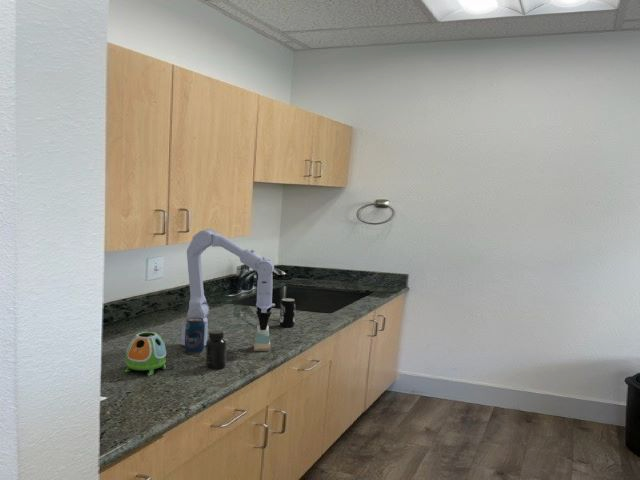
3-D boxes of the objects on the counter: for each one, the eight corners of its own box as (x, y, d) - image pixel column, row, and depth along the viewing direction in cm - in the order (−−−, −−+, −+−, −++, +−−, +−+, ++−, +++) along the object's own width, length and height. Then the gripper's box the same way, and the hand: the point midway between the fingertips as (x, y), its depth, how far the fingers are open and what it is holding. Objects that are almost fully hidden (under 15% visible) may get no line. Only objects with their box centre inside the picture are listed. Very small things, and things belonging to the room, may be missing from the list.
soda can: (184, 354, 213) (185, 321, 212) (184, 349, 220) (185, 317, 219) (204, 354, 215) (205, 321, 214) (203, 348, 221) (204, 317, 220)
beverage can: (292, 328, 260) (293, 301, 259) (277, 326, 262) (279, 300, 260) (295, 325, 267) (297, 298, 266) (281, 323, 268) (282, 297, 267)
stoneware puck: (262, 335, 222) (262, 328, 222) (254, 333, 225) (254, 325, 225) (270, 334, 226) (271, 326, 225) (262, 331, 228) (263, 324, 228)
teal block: (268, 343, 223) (269, 335, 223) (255, 343, 223) (255, 335, 222) (268, 340, 228) (269, 332, 228) (255, 339, 228) (256, 332, 227)
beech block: (270, 351, 223) (270, 343, 223) (253, 351, 223) (254, 343, 222) (269, 347, 229) (270, 339, 229) (254, 347, 228) (254, 339, 228)
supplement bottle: (216, 362, 205) (217, 328, 204) (230, 366, 201) (231, 332, 200) (201, 366, 200) (202, 331, 199) (214, 371, 196) (215, 335, 195)
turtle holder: (177, 362, 204) (178, 327, 203) (154, 378, 186) (155, 341, 185) (143, 358, 206) (144, 324, 205) (117, 374, 188) (118, 337, 187)
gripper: (275, 296, 217) (274, 332, 218) (275, 289, 232) (273, 323, 233) (256, 295, 217) (254, 332, 218) (256, 288, 231) (255, 323, 232)
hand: (263, 327), depth 225 cm, fingers open, 6 cm apart
